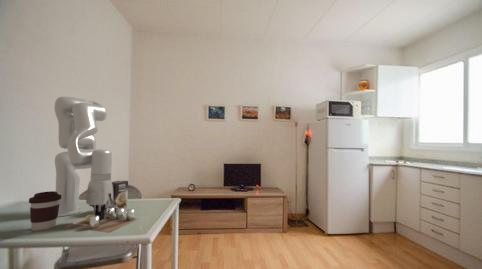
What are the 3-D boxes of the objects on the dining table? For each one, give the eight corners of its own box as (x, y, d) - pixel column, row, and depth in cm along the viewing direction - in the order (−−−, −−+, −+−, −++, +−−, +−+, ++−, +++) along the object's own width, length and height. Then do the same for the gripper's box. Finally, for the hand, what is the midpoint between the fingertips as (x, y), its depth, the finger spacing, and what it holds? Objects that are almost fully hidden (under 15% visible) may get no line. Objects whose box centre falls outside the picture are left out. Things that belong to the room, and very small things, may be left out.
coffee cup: (65, 226, 90) (67, 191, 91) (39, 235, 80) (41, 196, 81) (48, 224, 92) (50, 189, 93) (20, 233, 83) (22, 194, 84)
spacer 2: (104, 218, 96) (104, 208, 97) (110, 216, 99) (110, 206, 100) (110, 219, 96) (110, 209, 96) (116, 217, 99) (116, 207, 99)
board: (62, 229, 87) (62, 226, 87) (97, 217, 102) (97, 214, 102) (109, 235, 81) (109, 231, 81) (139, 221, 96) (139, 218, 96)
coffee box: (114, 216, 103) (115, 183, 104) (103, 215, 104) (104, 182, 105) (127, 211, 112) (128, 180, 113) (117, 210, 113) (118, 180, 114)
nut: (82, 222, 91) (82, 217, 91) (93, 219, 96) (93, 213, 96) (90, 223, 90) (90, 218, 90) (101, 219, 95) (101, 214, 95)
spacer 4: (124, 220, 94) (124, 210, 94) (129, 218, 97) (130, 208, 97) (130, 221, 93) (130, 210, 93) (135, 219, 96) (136, 208, 96)
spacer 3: (114, 219, 95) (114, 209, 95) (120, 217, 98) (120, 207, 98) (120, 220, 94) (120, 210, 95) (125, 217, 97) (126, 208, 98)
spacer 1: (87, 229, 84) (87, 217, 84) (94, 226, 87) (95, 215, 88) (93, 229, 83) (94, 218, 84) (100, 226, 86) (101, 215, 87)
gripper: (79, 178, 91) (77, 221, 90) (107, 179, 88) (105, 224, 86) (95, 176, 99) (93, 216, 97) (121, 177, 95) (120, 218, 94)
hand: (99, 220), depth 92 cm, fingers closed
